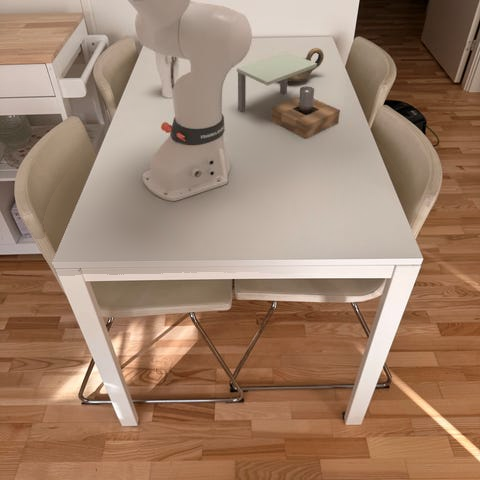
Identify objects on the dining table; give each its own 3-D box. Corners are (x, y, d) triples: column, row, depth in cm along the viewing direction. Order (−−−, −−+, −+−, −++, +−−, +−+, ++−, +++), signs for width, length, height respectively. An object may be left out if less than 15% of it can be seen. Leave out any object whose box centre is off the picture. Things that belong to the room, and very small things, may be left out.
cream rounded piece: (179, 88, 153) (174, 42, 143) (183, 97, 148) (179, 49, 138) (158, 91, 151) (152, 44, 141) (162, 100, 146) (156, 52, 136)
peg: (304, 126, 133) (307, 93, 126) (294, 121, 135) (297, 89, 128) (313, 121, 135) (317, 89, 128) (303, 117, 137) (306, 85, 130)
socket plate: (305, 138, 128) (306, 125, 125) (271, 120, 136) (271, 108, 133) (338, 122, 134) (340, 110, 132) (303, 106, 142) (304, 94, 140)
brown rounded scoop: (268, 72, 162) (269, 43, 156) (315, 69, 164) (318, 41, 157) (275, 88, 152) (277, 58, 146) (326, 85, 154) (330, 55, 147)
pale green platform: (266, 125, 134) (267, 82, 125) (237, 109, 141) (236, 68, 132) (312, 104, 143) (316, 63, 134) (283, 91, 150) (285, 51, 142)
